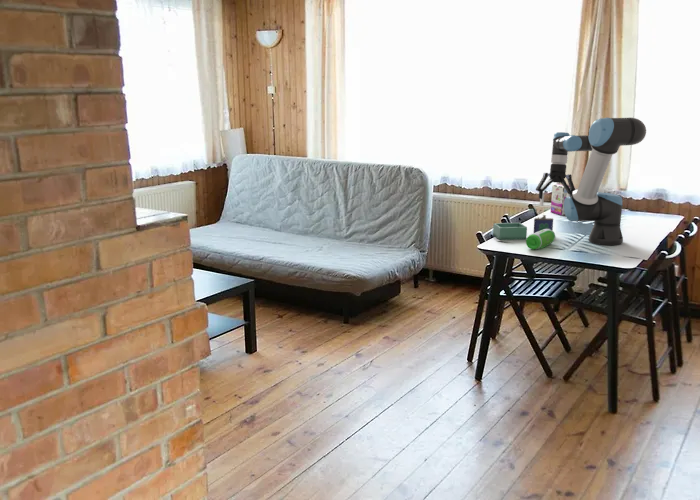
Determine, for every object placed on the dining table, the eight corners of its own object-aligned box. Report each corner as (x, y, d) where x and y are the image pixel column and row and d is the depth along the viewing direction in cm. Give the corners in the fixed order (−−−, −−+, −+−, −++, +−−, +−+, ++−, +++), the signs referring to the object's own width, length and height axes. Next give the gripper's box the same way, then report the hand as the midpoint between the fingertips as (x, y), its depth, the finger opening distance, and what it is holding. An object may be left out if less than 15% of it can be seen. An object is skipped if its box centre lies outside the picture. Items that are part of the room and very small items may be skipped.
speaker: (539, 251, 297) (540, 235, 295) (524, 249, 301) (525, 233, 299) (555, 244, 310) (556, 228, 308) (541, 242, 314) (542, 226, 312)
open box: (526, 239, 320) (527, 227, 318) (499, 240, 318) (500, 227, 317) (519, 234, 330) (519, 222, 328) (492, 235, 328) (493, 223, 327)
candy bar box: (569, 215, 375) (571, 186, 371) (561, 215, 373) (563, 187, 369) (557, 211, 385) (559, 183, 381) (550, 212, 384) (552, 184, 380)
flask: (551, 235, 327) (552, 214, 324) (553, 236, 324) (554, 215, 321) (532, 235, 327) (534, 214, 324) (534, 237, 324) (535, 215, 322)
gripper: (578, 165, 333) (574, 207, 336) (531, 162, 330) (527, 204, 333) (585, 165, 326) (581, 208, 328) (537, 162, 323) (533, 205, 325)
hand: (554, 206), depth 331 cm, fingers open, 13 cm apart
